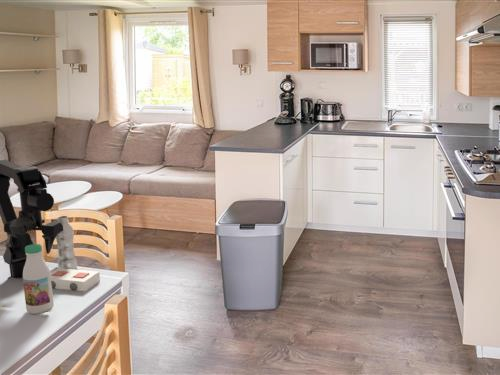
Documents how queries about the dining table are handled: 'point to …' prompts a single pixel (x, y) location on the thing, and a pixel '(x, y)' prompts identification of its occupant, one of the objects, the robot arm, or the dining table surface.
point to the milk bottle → (37, 281)
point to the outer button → (81, 275)
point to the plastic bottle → (66, 245)
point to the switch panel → (74, 279)
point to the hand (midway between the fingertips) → (36, 252)
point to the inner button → (60, 273)
